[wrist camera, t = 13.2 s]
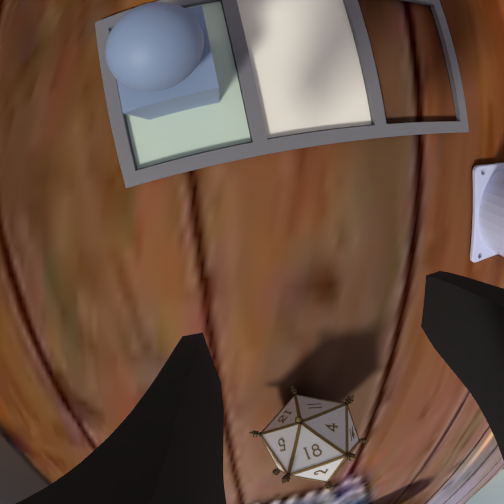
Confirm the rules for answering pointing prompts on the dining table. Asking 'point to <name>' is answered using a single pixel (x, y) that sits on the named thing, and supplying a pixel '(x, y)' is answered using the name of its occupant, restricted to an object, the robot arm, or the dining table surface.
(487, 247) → the robot arm
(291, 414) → the game die
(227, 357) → the dining table surface
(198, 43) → the pawn
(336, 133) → the game board
